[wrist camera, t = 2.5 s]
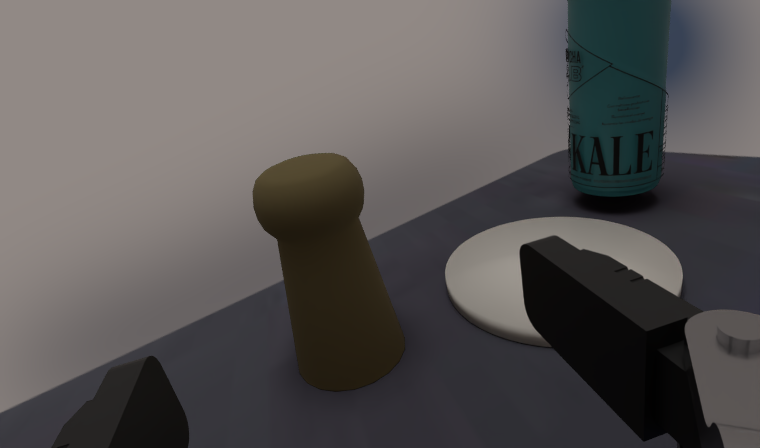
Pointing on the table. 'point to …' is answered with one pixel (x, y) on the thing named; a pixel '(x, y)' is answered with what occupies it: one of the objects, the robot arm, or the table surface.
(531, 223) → the saucer
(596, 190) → the beverage bottle
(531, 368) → the table surface
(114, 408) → the robot arm
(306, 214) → the cork
